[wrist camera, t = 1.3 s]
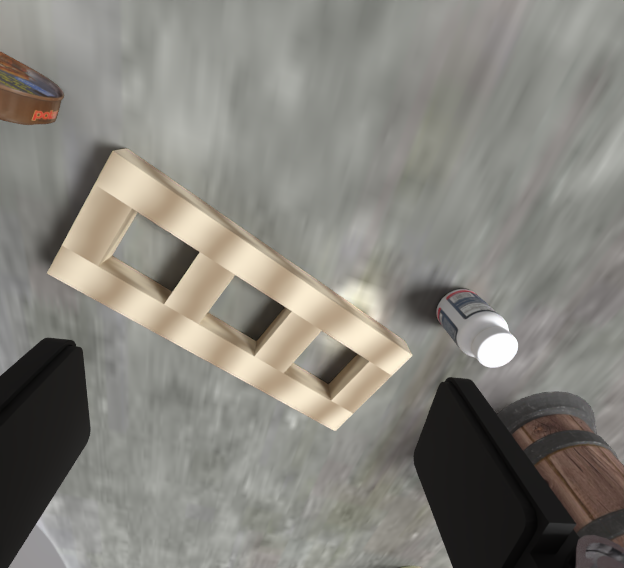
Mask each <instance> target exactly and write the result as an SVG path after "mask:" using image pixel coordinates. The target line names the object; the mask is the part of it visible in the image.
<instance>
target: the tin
mask: <svg viewBox="0 0 624 568" xmlns="http://www.w3.org/2000/svg"><path fill="white" fill-rule="evenodd" d="M63 97H64V93H63V91H62V90H61V89H60V88H59V86H57V85H56V84H55V83H54V82H52V81H51V80H50V79H48V78H47V77H45V76H43V75H42V74H40V73H38V72H37V71H35V70H33V69H31V68H29V67H28V66H26V65H24V64H22V63H20V62H19V61H17V60H15V59H13V58H11V57H9V56H8V55H6V54H4V53H2V52H0V120H4V121H8V122H13V123H18V124H23V125H34V124H49V123H52V122H55V120H56V118H57V115H58V112H59V108H60V103H61V100H62V99H63Z"/></svg>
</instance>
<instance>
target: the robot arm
mask: <svg viewBox="0 0 624 568" xmlns="http://www.w3.org/2000/svg"><path fill="white" fill-rule="evenodd" d="M89 436H90V419H89V409H88V399H87V389H86V379H85V369H84V359H83V351H82V348H81V347H76V344H75V342H74V341H72V340H66V339H56V338H44V339H43V340H41V341H40V342H39V343H38V344H37V345H36V346H34V347H33V348H32V349H31V350H30V351H29V352H28V353H26V354H25V355H24V356H23V357H22V358H21V359H19V360H18V361H17V362H16V363H15V364H14V365H13V366H11V367H10V368H9V369H8V370H7V371H6V372H4V373H3V374H2V375H1V376H0V568H8V567H9V565H10V564H11V563H12V561H13V559H14V558H15V556H16V555H17V553H18V551H19V550H20V548H21V547H22V545H23V544H24V542H25V540H26V539H27V537H28V536H29V534H30V533H31V531H32V529H33V528H34V526H35V525H36V523H37V521H38V520H39V518H40V517H41V515H42V514H43V512H44V510H45V509H46V507H47V506H48V504H49V502H50V501H51V499H52V498H53V496H54V495H55V493H56V491H57V490H58V488H59V487H60V485H61V484H62V482H63V480H64V479H65V477H66V476H67V474H68V472H69V471H70V469H71V468H72V466H73V465H74V463H75V461H76V460H77V458H78V457H79V455H80V453H81V452H82V450H83V449H84V447H85V446H86V444H87V442H88V439H89ZM414 465H415V468H416V471H417V473H418V476H419V479H420V481H421V484H422V487H423V489H424V492H425V495H426V497H427V500H428V502H429V505H430V508H431V510H432V513H433V516H434V518H435V521H436V524H437V526H438V529H439V532H440V534H441V537H442V540H443V542H444V545H445V548H446V550H447V553H448V556H449V558H450V561H451V564H452V566H453V568H624V548H623V547H622V546H620V545H619V544H617V543H615V542H613V541H610V540H608V539H606V538H603V537H600V536H596V535H585V536H583V537H582V538H579V536H578V535H577V534H576V532H575V531H574V527H575V526H576V522H575V521H574V520H573V518H572V517H571V516H570V514H569V513H568V511H567V510H566V509H565V507H564V506H563V505H562V503H561V502H560V500H559V499H558V498H557V496H556V495H555V494H554V492H553V491H552V490H551V488H550V487H549V485H548V484H547V483H546V481H545V480H544V479H543V477H542V476H541V474H540V473H539V472H538V470H537V469H536V468H535V466H534V465H533V463H532V462H531V461H530V459H529V458H528V457H527V455H526V454H525V452H524V451H523V450H522V448H521V447H520V446H519V444H518V443H517V442H516V440H515V439H514V437H513V436H512V435H511V433H510V432H509V431H508V429H507V428H506V426H505V425H504V424H503V422H502V421H501V420H500V418H499V417H498V415H497V414H496V413H495V411H494V410H493V409H492V407H491V406H490V405H489V403H488V402H487V400H486V399H485V398H484V396H483V395H482V394H481V392H480V391H479V389H478V388H477V387H476V385H475V384H474V383H473V382H472V381H471V380H470V379H463V378H453V377H450V378H447V379H446V381H445V382H441V383H440V385H439V387H438V389H437V392H436V395H435V398H434V400H433V403H432V406H431V408H430V411H429V414H428V416H427V419H426V422H425V424H424V427H423V430H422V433H421V435H420V438H419V441H418V443H417V446H416V449H415V452H414Z"/></svg>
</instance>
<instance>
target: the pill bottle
mask: <svg viewBox="0 0 624 568" xmlns="http://www.w3.org/2000/svg"><path fill="white" fill-rule="evenodd" d="M437 318H438V321H439V322H440V324H441V325H442V326H443V328H444V329H445V330H446V331H447V333H448V334H449V335H450V336H451V338H452V339H453V340H454V342H455V343H456V344H457V345H458V347H459V348H460V349H461V350H462V351H463V352H464V353H465V354H467V355H469V356H472V357H476V359H477V360H478V361H479V362H480V363H481V364H482V365H484V366H486V367H499V366H502V365H504V364H506V363H508V362H509V361H510V360H511V359H512V358H513V357H514V356H515V354H516V352H517V349H518V343H517V340H516V338H515V337H514V336H513V335H512V334H511V333H510V332H509V329H508V325H507V323H506V321H505V320H504V319H503V317H502V316H501V315H499V314H498V313H497V312H496V311H495V310H494V309H492V308H491V307H490V306H489V305H488V304H487V303H486V302H485V301H483V300H482V299H481V298H480V297H479V296H478V295H477V294H476V293H474V292H473V291H470V290H467V289H458V290H454V291H452V292H450V293H448V294H447V295H445V296H444V297H443V298H442V300H441V301H440V303H439V304H438V307H437Z"/></svg>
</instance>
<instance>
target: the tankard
mask: <svg viewBox="0 0 624 568" xmlns="http://www.w3.org/2000/svg"><path fill="white" fill-rule="evenodd" d="M497 415H498V417H499V418H500V420H501V421H502V422H503V424H504V425H505V426H506V428H507V429H508V431H509V432H510V433H511V435H512V436H513V437H514V439H515V440H516V442H517V443H518V444H519V446H520V447H521V448H522V450H523V451H524V452H525V454H526V455H527V457H528V458H529V459H530V461H531V462H532V463H533V465H534V466H535V468H536V469H537V470H538V472H539V473H540V474H541V476H542V477H543V479H544V480H545V481H546V483H547V484H548V485H549V487H550V488H551V490H552V491H553V492H554V494H555V495H556V496H557V498H558V499H559V500H560V502H561V503H562V505H563V506H564V507H565V509H566V510H567V511H568V513H569V514H570V516H571V517H572V518H573V520H574V521H575V522H576V526H575V527H574V531H575V532H576V534H577V535H578V536H579V538H582V537H583V536H585V535H596V536H600V537H603V538H606V539H608V540H610V541H613V542H615V543H617V544H619V545H620V546H622V547H623V548H624V465H623V464H622V463H621V462H620V461H619V460H618V458H617V455H616V453H615V452H614V451H613V450H612V449H611V447H610V446H609V445H608V444H607V443H606V442H605V441H604V440H603V439H602V438H601V437H600V436H598V435H596V434H597V432H596V426H595V416H594V412H593V410H592V408H591V406H590V405H589V404H588V403H587V402H586V401H585V400H584V399H582V398H580V397H579V396H577V395H574V394H570V393H566V392H543V393H539V394H534V395H531V396H528V397H525V398H522V399H520V400H518V401H516V402H514V403H512V404H510V405H509V406H507V407H506V408H504V409H503V410H502V411H500V412H499V413H498V414H497Z"/></svg>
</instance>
